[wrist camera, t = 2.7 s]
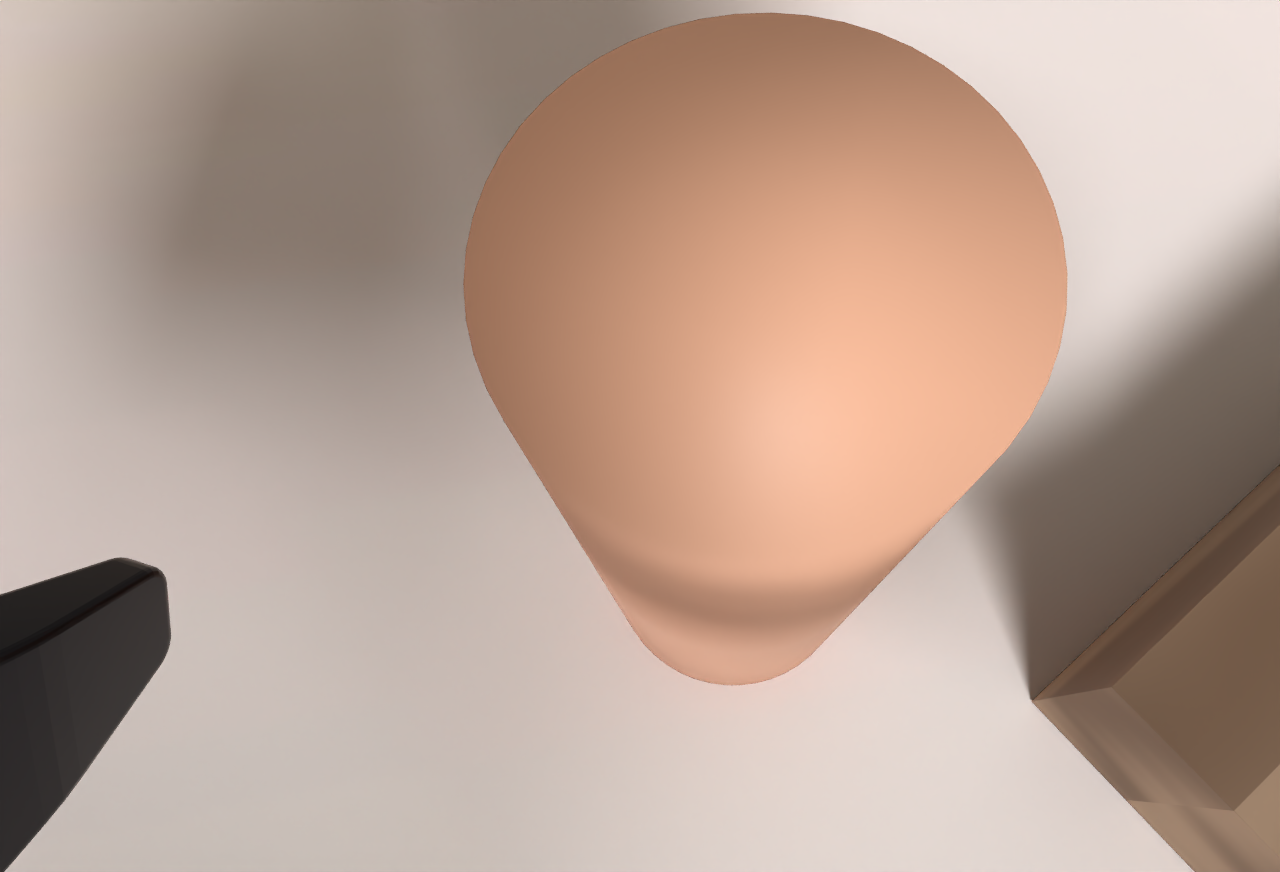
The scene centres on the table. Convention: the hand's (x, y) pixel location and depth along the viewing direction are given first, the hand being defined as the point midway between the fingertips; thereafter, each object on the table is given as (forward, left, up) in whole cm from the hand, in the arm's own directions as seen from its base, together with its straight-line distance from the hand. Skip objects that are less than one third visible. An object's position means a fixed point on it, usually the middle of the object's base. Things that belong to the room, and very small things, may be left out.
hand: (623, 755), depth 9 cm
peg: (+2, -3, -11) cm, 11 cm away
